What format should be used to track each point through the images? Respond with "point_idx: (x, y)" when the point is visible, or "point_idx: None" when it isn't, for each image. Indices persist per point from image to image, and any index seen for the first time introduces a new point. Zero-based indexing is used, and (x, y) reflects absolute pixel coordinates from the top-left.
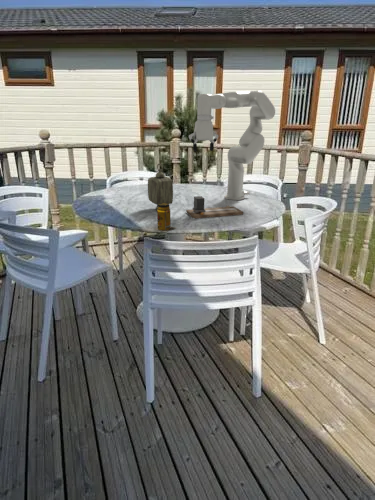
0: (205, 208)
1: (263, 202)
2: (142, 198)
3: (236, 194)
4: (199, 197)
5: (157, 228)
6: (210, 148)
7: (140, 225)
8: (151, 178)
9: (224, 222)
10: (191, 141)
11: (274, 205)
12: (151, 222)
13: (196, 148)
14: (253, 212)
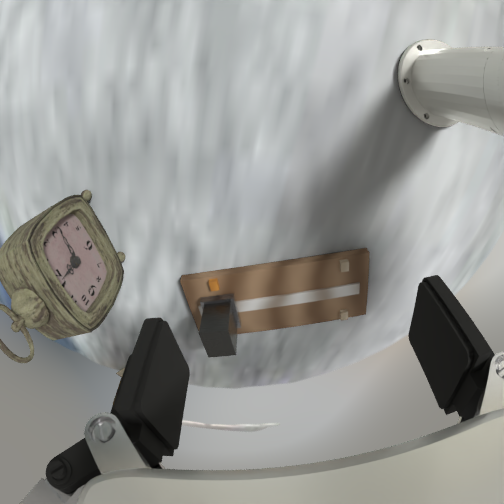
0: (253, 271)
1: (491, 180)
2: (24, 64)
3: (445, 117)
4: (219, 344)
5: (122, 372)
6: (427, 322)
7: (84, 350)
8: (7, 291)
9: (281, 361)
10: (76, 453)
11: (495, 223)
12: (99, 339)
13: (180, 402)
14: (403, 290)
